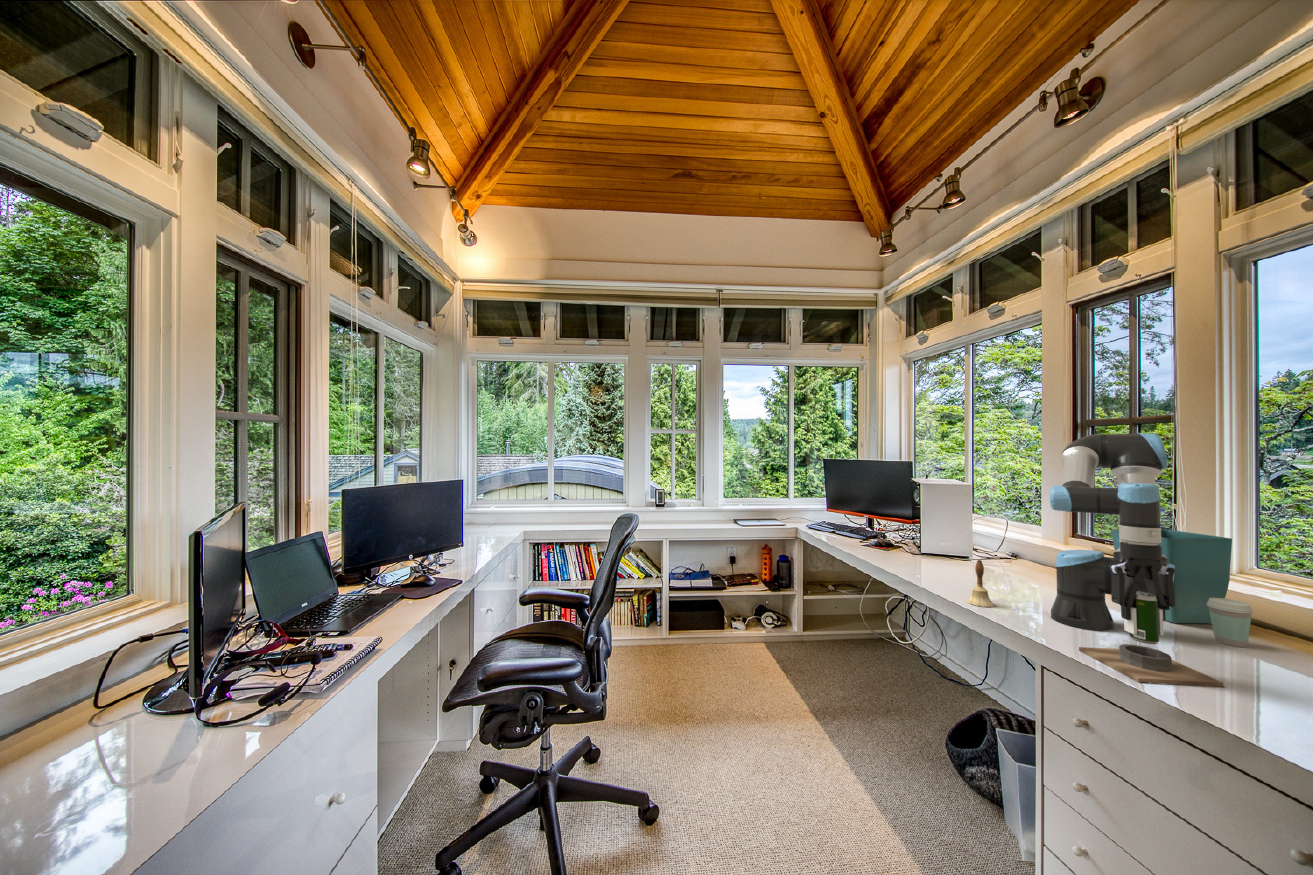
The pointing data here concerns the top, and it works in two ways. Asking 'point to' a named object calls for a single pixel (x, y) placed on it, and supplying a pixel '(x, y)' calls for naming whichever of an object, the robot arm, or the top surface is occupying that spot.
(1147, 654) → the collar holder
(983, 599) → the hand bell
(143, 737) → the top surface
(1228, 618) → the coffee cup
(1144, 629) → the beer can
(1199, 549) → the flower pot
